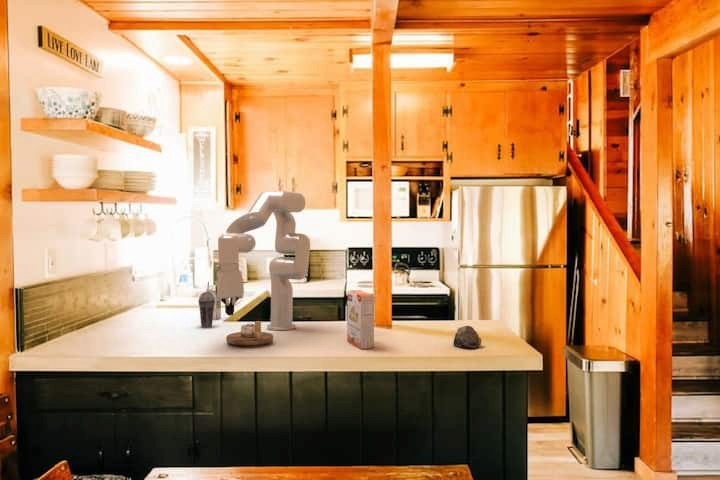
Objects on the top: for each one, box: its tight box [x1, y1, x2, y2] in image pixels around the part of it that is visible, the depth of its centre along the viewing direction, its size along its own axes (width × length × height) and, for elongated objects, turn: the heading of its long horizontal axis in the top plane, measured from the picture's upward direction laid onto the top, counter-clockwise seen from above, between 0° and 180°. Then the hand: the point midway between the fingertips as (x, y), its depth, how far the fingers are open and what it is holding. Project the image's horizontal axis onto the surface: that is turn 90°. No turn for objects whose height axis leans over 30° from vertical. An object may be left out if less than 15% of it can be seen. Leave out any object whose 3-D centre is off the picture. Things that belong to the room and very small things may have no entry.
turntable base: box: [238, 344, 263, 347], centre depth 229 cm, size 11×11×1 cm
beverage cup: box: [198, 281, 215, 329], centre depth 258 cm, size 7×7×20 cm
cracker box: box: [346, 289, 375, 350], centre depth 228 cm, size 14×6×21 cm, turn 23°
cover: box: [240, 323, 255, 338], centre depth 228 cm, size 7×7×5 cm
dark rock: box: [452, 325, 482, 349], centre depth 230 cm, size 11×9×10 cm
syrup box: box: [205, 287, 222, 321], centre depth 278 cm, size 6×6×14 cm
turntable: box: [226, 320, 274, 346], centre depth 229 cm, size 18×18×8 cm
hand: (229, 314), depth 224 cm, fingers closed
